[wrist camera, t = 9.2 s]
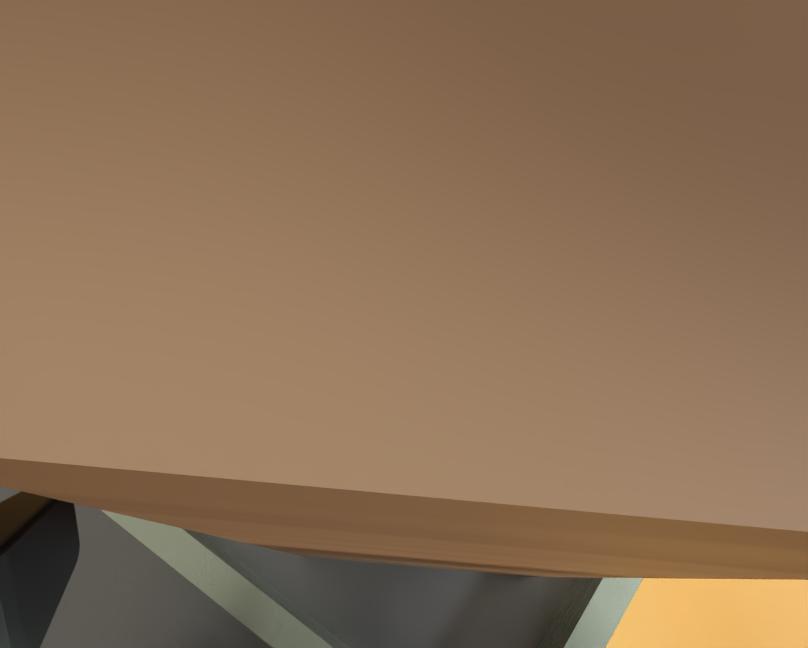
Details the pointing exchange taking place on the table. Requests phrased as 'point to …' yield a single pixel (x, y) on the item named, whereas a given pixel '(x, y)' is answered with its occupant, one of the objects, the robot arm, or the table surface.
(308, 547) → the tall wooden pillar
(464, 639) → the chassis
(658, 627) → the table surface
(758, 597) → the table surface
